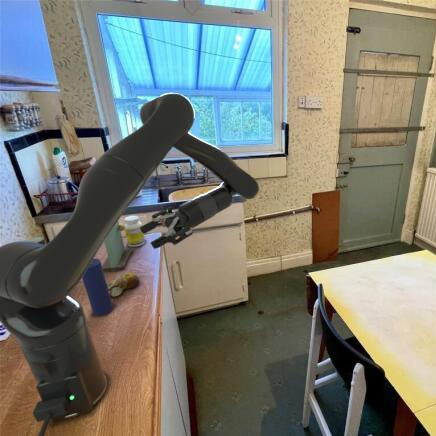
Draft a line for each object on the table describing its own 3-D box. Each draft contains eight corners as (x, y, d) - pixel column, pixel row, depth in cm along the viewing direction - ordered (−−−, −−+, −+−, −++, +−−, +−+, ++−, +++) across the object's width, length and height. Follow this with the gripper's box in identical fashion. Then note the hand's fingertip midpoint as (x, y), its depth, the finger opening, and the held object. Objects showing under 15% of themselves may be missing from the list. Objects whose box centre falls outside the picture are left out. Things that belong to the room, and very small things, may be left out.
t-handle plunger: (98, 301, 81) (78, 231, 72) (116, 299, 82) (98, 229, 74) (88, 321, 74) (64, 246, 65) (108, 318, 75) (86, 244, 67)
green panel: (144, 250, 108) (129, 173, 96) (137, 268, 97) (119, 183, 86) (112, 254, 105) (92, 174, 93) (101, 272, 95) (77, 184, 83)
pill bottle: (128, 241, 114) (122, 216, 110) (145, 238, 117) (140, 213, 113) (127, 248, 109) (121, 222, 105) (145, 245, 112) (140, 219, 107)
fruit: (106, 284, 88) (104, 274, 87) (136, 275, 93) (134, 266, 92) (111, 298, 83) (109, 288, 81) (142, 288, 88) (140, 278, 86)
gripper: (184, 190, 87) (131, 216, 80) (207, 210, 79) (150, 241, 71) (192, 209, 92) (143, 235, 85) (214, 230, 83) (162, 261, 76)
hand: (146, 238), depth 78 cm, fingers open, 8 cm apart
